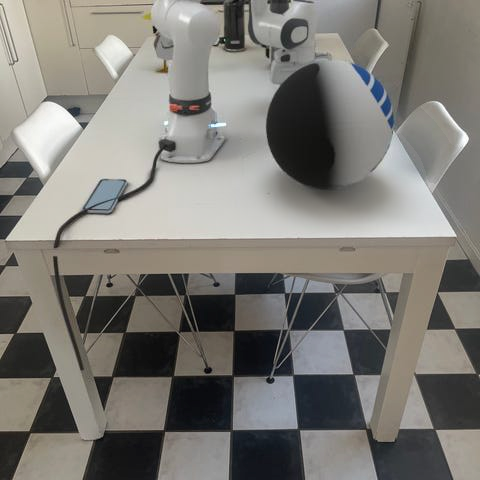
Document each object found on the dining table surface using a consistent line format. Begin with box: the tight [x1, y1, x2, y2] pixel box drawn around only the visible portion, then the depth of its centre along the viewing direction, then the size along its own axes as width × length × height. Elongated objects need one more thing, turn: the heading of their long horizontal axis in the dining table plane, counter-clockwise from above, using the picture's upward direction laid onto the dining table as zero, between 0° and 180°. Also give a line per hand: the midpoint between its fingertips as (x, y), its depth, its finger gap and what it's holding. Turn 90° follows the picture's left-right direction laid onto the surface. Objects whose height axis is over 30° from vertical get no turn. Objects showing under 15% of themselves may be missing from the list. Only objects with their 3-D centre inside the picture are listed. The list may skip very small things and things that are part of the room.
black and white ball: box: [265, 59, 395, 190], centre depth 123 cm, size 30×30×30 cm
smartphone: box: [81, 178, 128, 214], centre depth 127 cm, size 7×1×15 cm
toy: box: [141, 12, 174, 73], centre depth 204 cm, size 8×20×24 cm, turn 69°
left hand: (299, 95), depth 175 cm, fingers closed on post, 4 cm apart
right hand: (278, 57), depth 208 cm, fingers open, 8 cm apart
